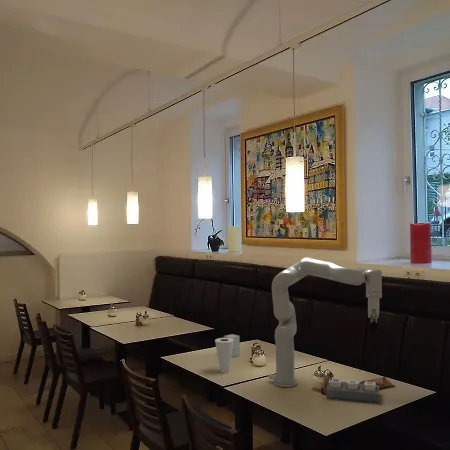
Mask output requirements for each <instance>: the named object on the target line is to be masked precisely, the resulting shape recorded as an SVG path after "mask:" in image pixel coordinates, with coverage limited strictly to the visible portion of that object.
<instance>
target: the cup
mask: <svg viewBox="0 0 450 450" xmlns="http://www.w3.org/2000/svg"><path fill="white" fill-rule="evenodd" d="M233 342H234V340H233V339H231V338H224V337H219V338H216V339H215V340H214V343H215V349H216V353H217V360H218V365H219V370H220V373H221V374H228V373H229V372H230V370H231V369H230V368H231V367H230V366H231V360H232V358H231V355H232V349H233Z"/></svg>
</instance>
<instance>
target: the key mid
mask: <svg viewBox="0 0 450 450" xmlns="http://www.w3.org/2000/svg"><path fill="white" fill-rule="evenodd" d="M346 382H347V389H356V390H358V389H359V383H360V382H359V380H353V379H347V381H346Z"/></svg>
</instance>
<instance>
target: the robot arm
mask: <svg viewBox="0 0 450 450" xmlns="http://www.w3.org/2000/svg"><path fill="white" fill-rule="evenodd" d="M382 275H383V274H382V271H381V269H377V268H360V267H358V268H354V269H352V268H349V267H344V266H340V265H337V264H335V263H334V262H331V261H326V260H321V259H316V258H314V257H312V256H305V257H303V258H301V259H300V260H299V261H298V262H296V263H294V264H293V265H291V266H289V267H288V268H286V269H284V270H282V271H280V272H279V273H278V274H276V275H275V276H274V278H273V279H272V282H271V294H272V305H273V314H274V317H275V319H277V320H278V325H277V326H276V328H275V329H274V341H275V343H274V344H275V373H274V374H271V373H268V376H267V378H269V380H273V385H274V386H276V387H281V388H293V387H295V386H297V385H298V380H297V379H295V344H294V343H295V342H294V336H296V333H297V331H298V330H297V329H298V328H297V327H298V326H297V318H296V317H297V316H296V309H295V306H294V304H293V303H292V302H291V301H290V296H289V295H290V294H289V289H288V288H289V286H292V285H294V284H295V283H297V282H298V281H300V280H302V279H303V278H305V277H306V276H313V277H319V278H323V279H328V280H331V281H335V282H339V283H342V284H348V285H353V286H361V285H362V284H363V283H365V297H366V298H367V299H368V300H367V317H368V319H370V331H371V332H378V330H379V329H378V327H379V319H378V318H379V316H380V299H382V298H383V287H382V286H383V285H382V284H383V283H382V282H383V279H382V277H383V276H382Z"/></svg>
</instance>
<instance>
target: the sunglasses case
mask: <svg viewBox="0 0 450 450" xmlns="http://www.w3.org/2000/svg"><path fill="white" fill-rule="evenodd" d="M365 381H367V382H376V385H379V391H381V390H386V389H390V388H395V387H396V385H394V384H393V383H392V382H391V381H390V380H388V378H387V377H385V376H381V377H379V378H372V379H368V380H363V381H362V380H361V382H360V381H359V383H361V384H365Z"/></svg>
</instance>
